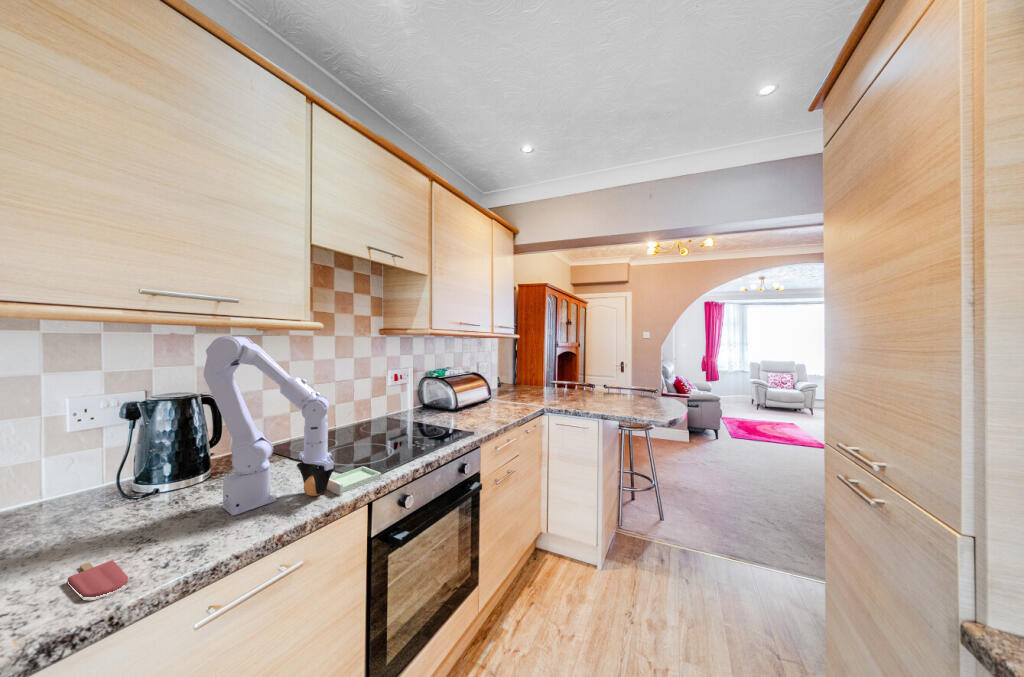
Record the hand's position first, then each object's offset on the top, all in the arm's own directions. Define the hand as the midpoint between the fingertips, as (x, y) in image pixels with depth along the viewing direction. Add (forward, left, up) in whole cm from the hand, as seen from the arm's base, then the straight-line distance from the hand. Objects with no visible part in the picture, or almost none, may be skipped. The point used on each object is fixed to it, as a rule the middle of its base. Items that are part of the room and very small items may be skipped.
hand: (315, 489), depth 93 cm
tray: (+11, 0, -1) cm, 12 cm away
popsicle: (-39, -2, -2) cm, 39 cm away
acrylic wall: (+4, 0, -1) cm, 4 cm away
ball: (0, 0, +1) cm, 1 cm away
